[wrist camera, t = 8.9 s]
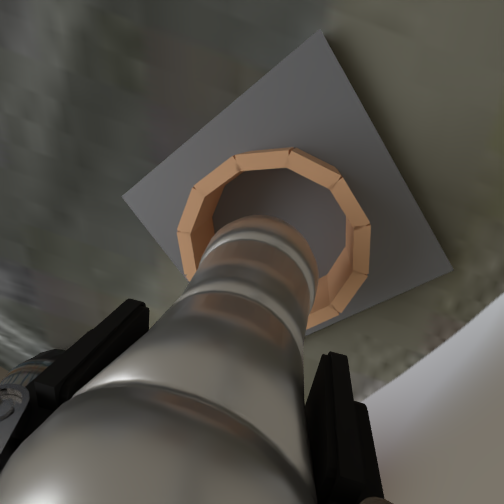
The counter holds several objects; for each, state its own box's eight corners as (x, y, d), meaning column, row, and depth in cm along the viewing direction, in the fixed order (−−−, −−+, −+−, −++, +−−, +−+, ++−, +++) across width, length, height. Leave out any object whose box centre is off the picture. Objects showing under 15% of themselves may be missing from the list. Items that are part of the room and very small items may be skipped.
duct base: (319, 35, 21) (321, -4, 15) (446, 262, 25) (487, 302, 19) (131, 193, 28) (81, 209, 22) (252, 351, 32) (238, 400, 26)
